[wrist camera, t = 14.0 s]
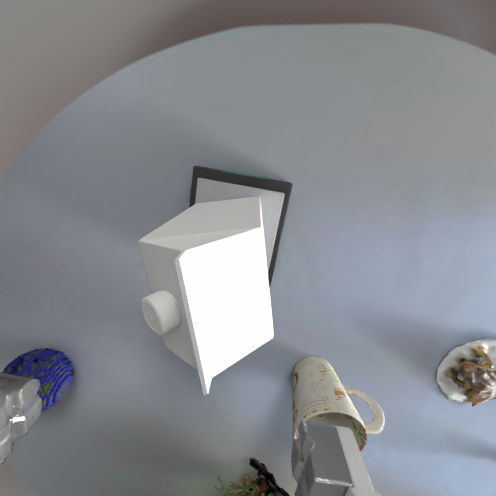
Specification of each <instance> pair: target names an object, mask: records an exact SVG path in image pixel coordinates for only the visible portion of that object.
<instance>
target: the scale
mask: <svg viewBox="0 0 496 496" xmlns="http://www.w3.org/2000/svg"><path fill="white" fill-rule="evenodd" d="M292 185H293V184H291V183H289V182H284V181H278V180H273V179H267V178H266V177H262V176H256V175H251V174H245V173H239V172H234V171H228V170H217V169H212V168H206V167H200V166H194V168H193V177H192V187H191V197H190V207H192V206H193V205H195V204H197V203H204V202H213V201H221V200H230V199H238V198H247V197H256V196H259V197H260V201H261V211H262V220H263V230H264V240H265V249H266V259H267V270H268V280H269V289H270V285H271V281H272V276H273V272H274V267H275V262H276V258H277V253H278V249H279V244H280V240H281V235H282V231H283V226H284V222H285V217H286V212H287V208H288V203H289V199H290V194H291V190H292ZM190 207H189V208H190Z"/></svg>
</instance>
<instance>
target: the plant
mask: <svg viewBox="0 0 496 496" xmlns="http://www.w3.org/2000/svg"><path fill="white" fill-rule="evenodd" d="M251 458H252V457H251ZM251 458H250V463H249V464H250V465H251V466H252V467H254V468H255V469H256V470H258V474H257V475H258V476H257V478H256V481H254V480H250V479H249V478H248V476H249V475H250V474H249V475H244V476H245V479H243V478H242V481H243V482H244V486H239V485H236V484H234V483H232V484H231V486H232V488H233V486H234V487H236V488H233V489H234V490H232V489H228V488H226V487H225V486H223V485H222V484H221V481H219V480H220V476H219V478H217V479H218V481H219V483H220V484H221V486H222V488H223V487H224V488H226V489H228V490H225V489H224V488H223V489H224V490H223V489H220V491H225V492H227V493H226V494H230V493H234V492H236V493H234V494H237V493H238V494H237V495H234V494H230V495H229V496H232V495H233V496H289V494H288V493H287V492H286V491H285V490H284V489H283V488H280V487H279V486H278V484H277V483H276V482H275V481H276V480H275V479H274V476H273V474H271V473H269V472H267V469H266V467H265V465H264V464H263V463H260V462H259V461H258V460H256V459H255V458H252V459H251ZM261 475H263V476H264V477H265V479H264V478H262V477H261ZM216 476H217V475H216ZM250 478H251V477H250ZM253 479H254V478H253ZM222 482H223V481H222ZM230 483H231V482H230ZM246 484H247V485H246ZM274 485H275V486H274ZM214 486H215V485H214ZM228 486H229V485H228ZM231 486H230V487H231ZM247 486H248V487H247ZM215 488H216V487H215ZM238 488H239V489H238ZM216 489H217V488H216ZM217 490H219V488H218V489H217ZM233 491H234V492H233ZM238 491H239V492H238ZM282 491H283V492H282ZM228 492H230V493H228ZM226 494H223V492H222V495H223V496H224V495H226ZM222 495H220V494H219V495H218V496H222Z"/></svg>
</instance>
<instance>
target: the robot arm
mask: <svg viewBox="0 0 496 496" xmlns="http://www.w3.org/2000/svg"><path fill="white" fill-rule="evenodd" d="M40 388H41V387H40V381H39V380H38V379H33V378H27V377H22V376H17V375H12V374H6V373H1V372H0V466H1V464H2V463H3V462H4V461H5V460H6V459H7V457H8V456H9V455H10V454H11V453H12V451H13V446H14V442H15V441H17V440H19V439H20V438H22V437H24V436H25V435H27V434H28V432H29V431H30V430H31V429H32V427H33V426H34V425H35V423H36V421H37V420H38V418H39V416H40V414H41V410H42V399H41V398H40V396H39V395H38V394H37V391H38V390H39V389H40ZM298 432H299V436H298V437H296V438H295V439H294V443H293V446H292V456H291V458H292V473H293V476H294V478H295V480H296V481H297V483H298V486H297V489H296V492H295V496H383V495H382V494H381V493H380V491H375V490H374V489H373V486H372V483H371V480H370V478H369V475H368V472H367V469H366V467H365V464H364V461H363V458H362V456H361V453H360V450H359V447H358V445H357V442H356V439H355V436H354V434H353V431H352V430H351V429H350V428H349V427H343V426H336V425H332V424H326V423H319V422H312V421H304V420H302V421H301V422H300V424H299V427H298Z"/></svg>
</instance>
